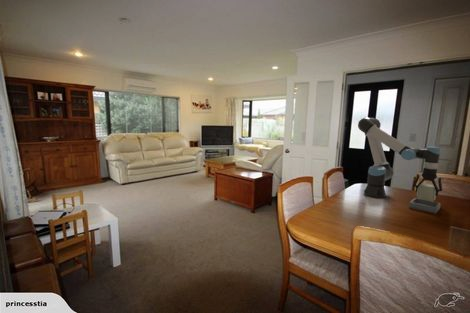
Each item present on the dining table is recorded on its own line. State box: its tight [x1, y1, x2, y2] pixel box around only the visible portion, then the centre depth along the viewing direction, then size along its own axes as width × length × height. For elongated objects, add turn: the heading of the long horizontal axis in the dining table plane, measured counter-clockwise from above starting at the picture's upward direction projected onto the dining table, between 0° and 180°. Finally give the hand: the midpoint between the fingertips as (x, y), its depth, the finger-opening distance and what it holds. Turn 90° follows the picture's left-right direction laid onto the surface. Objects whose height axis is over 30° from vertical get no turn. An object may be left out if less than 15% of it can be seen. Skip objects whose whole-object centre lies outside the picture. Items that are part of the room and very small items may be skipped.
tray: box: [408, 197, 441, 215], centre depth 152 cm, size 14×14×4 cm
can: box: [416, 183, 436, 202], centre depth 164 cm, size 9×9×12 cm
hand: (425, 197), depth 164 cm, fingers closed on can, 9 cm apart
